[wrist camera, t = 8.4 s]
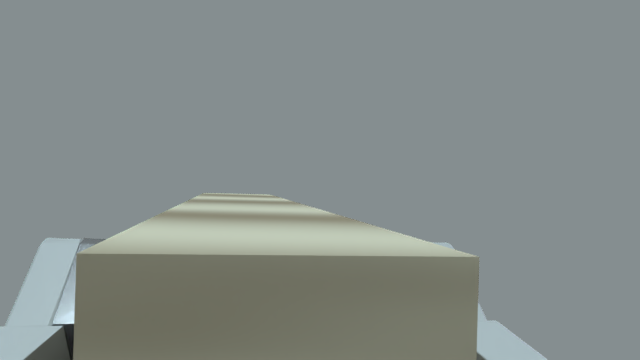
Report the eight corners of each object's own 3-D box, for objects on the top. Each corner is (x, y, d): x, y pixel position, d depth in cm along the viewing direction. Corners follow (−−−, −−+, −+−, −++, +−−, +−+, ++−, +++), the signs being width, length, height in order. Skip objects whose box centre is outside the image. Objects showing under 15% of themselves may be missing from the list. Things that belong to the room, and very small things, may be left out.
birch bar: (468, 639, 4) (478, 256, 4) (63, 682, 4) (76, 252, 4) (268, 259, 26) (270, 194, 26) (201, 259, 26) (203, 192, 26)
